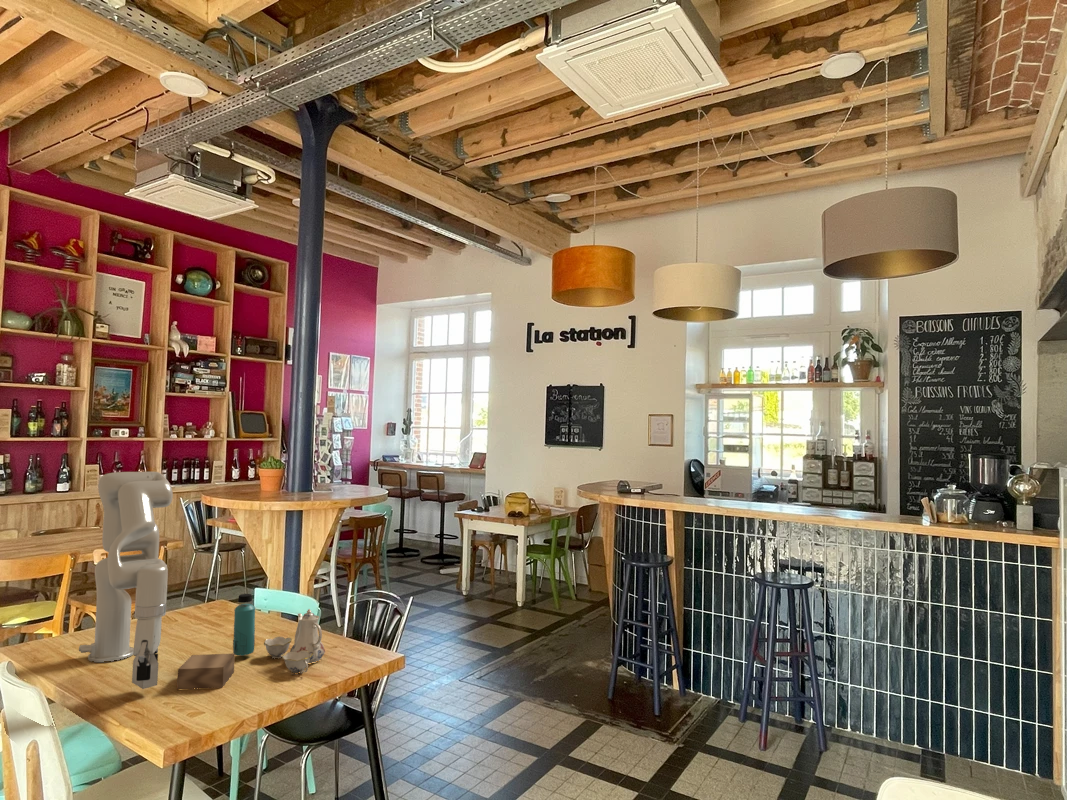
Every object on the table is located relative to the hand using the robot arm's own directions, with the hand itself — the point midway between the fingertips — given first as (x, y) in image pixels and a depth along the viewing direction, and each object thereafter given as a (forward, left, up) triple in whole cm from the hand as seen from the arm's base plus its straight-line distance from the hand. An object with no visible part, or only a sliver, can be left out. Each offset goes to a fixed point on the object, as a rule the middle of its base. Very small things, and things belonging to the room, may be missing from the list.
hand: (147, 673), depth 183 cm
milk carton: (-1, 0, -3) cm, 3 cm away
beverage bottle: (+22, +24, -5) cm, 33 cm away
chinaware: (+39, +15, -6) cm, 42 cm away
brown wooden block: (+14, +5, -6) cm, 16 cm away
